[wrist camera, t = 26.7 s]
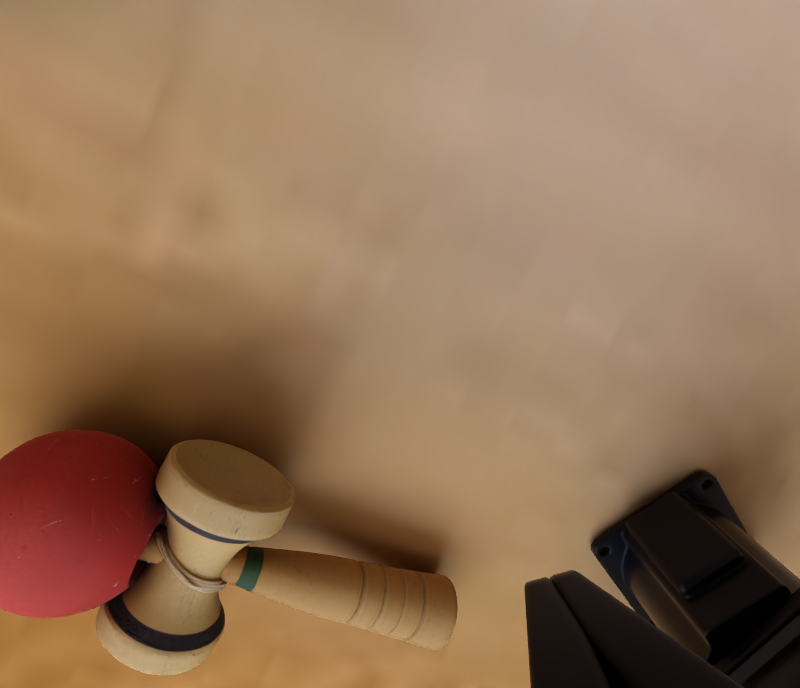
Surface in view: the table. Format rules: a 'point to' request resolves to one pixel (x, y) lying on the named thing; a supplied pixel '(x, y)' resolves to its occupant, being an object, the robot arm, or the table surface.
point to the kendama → (180, 550)
